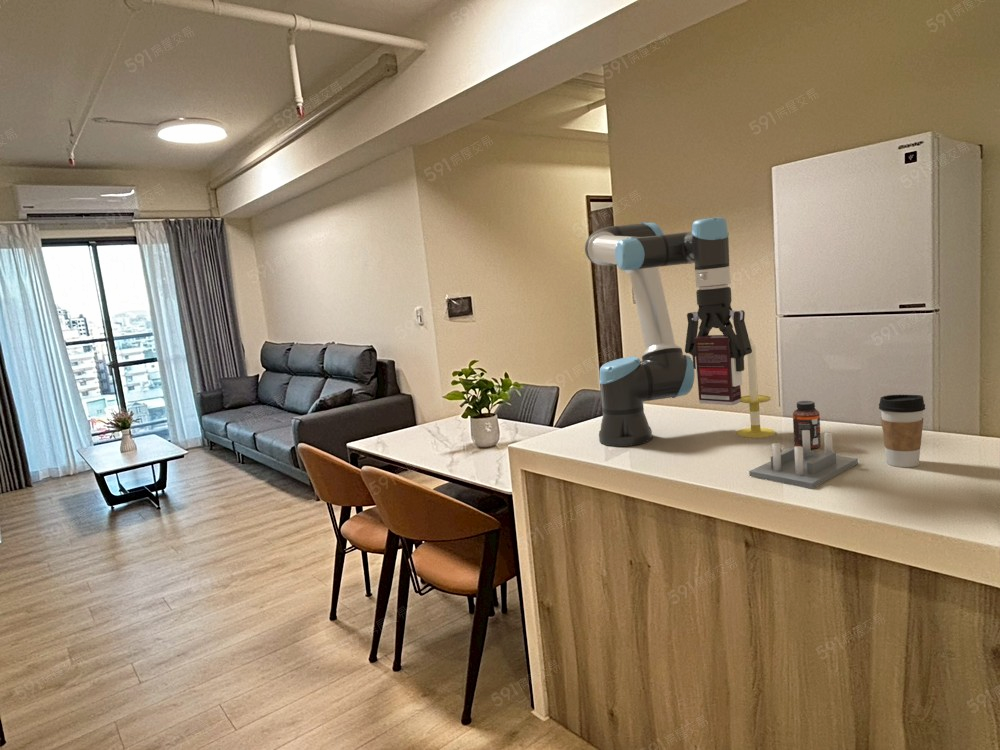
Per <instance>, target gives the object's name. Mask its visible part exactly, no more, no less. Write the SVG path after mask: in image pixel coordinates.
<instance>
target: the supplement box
mask: <svg viewBox="0 0 1000 750" xmlns="http://www.w3.org/2000/svg"><path fill="white" fill-rule="evenodd" d="M736 336H737V335H736ZM695 350H696V364H697V377H698V383H697V389H698V403H699V404H708V405H724V406H734V405H737V404H739V403H742V402H741V397H742V391H741V385H739V386H736V387H734V386H732V370H731V358H733V356H734V355H733V353H732V351H731V349H730V338H729V337H724V335H723V334H708V335H707V336H702V337H696V338H695Z"/></svg>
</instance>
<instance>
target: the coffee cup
mask: <svg viewBox="0 0 1000 750" xmlns="http://www.w3.org/2000/svg"><path fill="white" fill-rule="evenodd" d="M878 410H880V412H881V417H880V422H881V428H882V429H881V430H882V436H883V443H884V450H885V451H884V452H885V459H886V460H885V461H886V463H887V464H888V465H889V466H892V467H895V468H896V467H898V468H915V467H917V466H919V465H920V456H921V446H922V436H923V426H924V417H923V414H924V411H925V410H926V404H925V401H924V396H923V395H919V394H888V395H887V394H886V395H883V396H881V397H880V399H879V404H878Z"/></svg>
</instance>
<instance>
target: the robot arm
mask: <svg viewBox="0 0 1000 750" xmlns="http://www.w3.org/2000/svg"><path fill="white" fill-rule="evenodd" d="M691 229H692V230H691V231H684V232H677V233H667V234H665V233H664V231H663V229H662V228H661V227H660V225H659V224H657V223H654V222H639V223H633V224H624V225H623V224H621V225H613V226H612V225H611V226H606V227H602V228H599V229H598V230H596V231H594V232H593V233H591V234H590V235H589V236H588V238H587V239H586V241H585V244H584V252H585V253H584V254H585V255H586V258H587V259H588V260H589V261H590V262H591V263H592V264H594V265H597V266H598V265H599V266H617V267H618V268H619V270H621V271H623V272H624V273H625V274H627V275H629V277H630V281H631V287H632V293H633V295H634V300H635V301H634V302H635V305H636V311H637V315H638V320H639V325H640V329H641V336H642V339H643V343H644V348H645V349H644V351H643V353H642V355H641V360H640V357H637V356H628V357H621V358H617V359H614V360H611V361H608V362H605V363H603V364H602V365H601V366H600V368H599V381H598V382H599V386H600V395H601V396H600V397H601V407H602V419H601V424H600V430H599V432H598V441H599V443H601V444H603V445H607V446H612V447H628V446H636V445H641V444H645V443H648V442H649V441H651V440H652V439H653V433H652V432H653V431H652V428H651V427H650V426H649V422H648V419H647V417H646V414H645V411H644V410H645V409H644V402H651V401H657V400H663V399H664V400H665V399H675V398H678V397H682V396H683V397H684V396H687V395H688V394H689V393H690V392H691V390H692V389H693V386H694V383H695V375H696V384H698V377H697V364H696V350H695V338H696V337H702V336H707V335H710V331H711V330H712V329H713V328H714V329H718V330H719V331H720V332H721V334H722V335H724V337H729V338H730V349H731V351H732V353H733V355H734V356H733V358H731V370H732V386H734V387H736V386H739V385H740V386H741V385H743V373H742V372H744V370H745V356H747V354H750V353H752V349H751V345H750V338H749V333H748V330H747V327H746V323H745V322H746V321H745V315H746V313H745V311H744V310H733V308H732V304H731V303H732V301H733V300H732V289H731V288H732V287H730V286H729V285H730V284H731V283H732V281H731V269H730V268H731V267H730V251H729V250H730V248H729V246H730V244H729V242H730V241H729V235H730V234H729V233H730V232H729V231H728V221H727V219H726V218H725V217H720V216H719V217H710V218H703V219H696V220H694V221H693V223H692V227H691ZM688 264H689V265H690V264H691V265H692V264H694V274H695V275H694V276H695V287H696V288H698V289H697V290H696V291H695V293H696V305H697V306H698V309H697V311H693V312H688V313H687V314H686V317H687V329H686V338H685V347H684V352H685V354H684V353H683V348H682V347H681V346H678V344H676V341H675V338H674V332H673V328H672V323H671V319H670V314H669V309H668V305H667V301H666V296H665V291H664V288H663V282H662V278H661V273H660V269H659V268H660V267H669V266H678V265H688ZM699 320H700V321H701V322H700V321H699ZM731 320H732V322H733V323H732V322H731ZM699 322H700V324H699ZM733 327H734V328H733ZM698 330H699V331H698ZM734 330H735V331H734ZM736 335H737V336H736ZM687 354H690V355H687ZM691 357H692V358H691Z"/></svg>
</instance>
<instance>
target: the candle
mask: <svg viewBox="0 0 1000 750" xmlns="http://www.w3.org/2000/svg"><path fill="white" fill-rule="evenodd" d="M749 341H750V345H751V349H752V353H750V354H747V355H746V356H747V370H748V372H747V373H748V374H747V375H748V389H749V390H748V392H749V395H743V396H741V402H740V403H743V404H749V405H748V406H749V418H750V419H749V420H750V423H749V424H750V427H746V428H741V429H739V430H737V431H736V435H737V436H739V437H742V438H750V439H763V438H764V439H765V438H769V437H772V436H775V435H776V431H775V430H774V429H772V428H767V427H761V413H760V404H761V403H767V402H769V401H771V397H770V396H768V395H762V394H761V395H760V394H759V393H758V391H759V390H758V373H757V354H756V345H755V344H754V342H753V339H752V337H751V336H750V338H749Z"/></svg>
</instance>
